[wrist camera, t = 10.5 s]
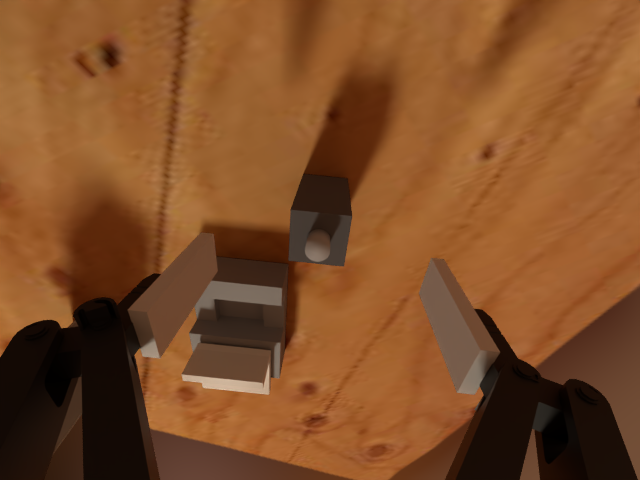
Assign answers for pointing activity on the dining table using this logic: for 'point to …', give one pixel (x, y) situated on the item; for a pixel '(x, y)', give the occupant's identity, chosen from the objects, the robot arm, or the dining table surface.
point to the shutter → (230, 368)
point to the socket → (245, 308)
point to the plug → (320, 220)
